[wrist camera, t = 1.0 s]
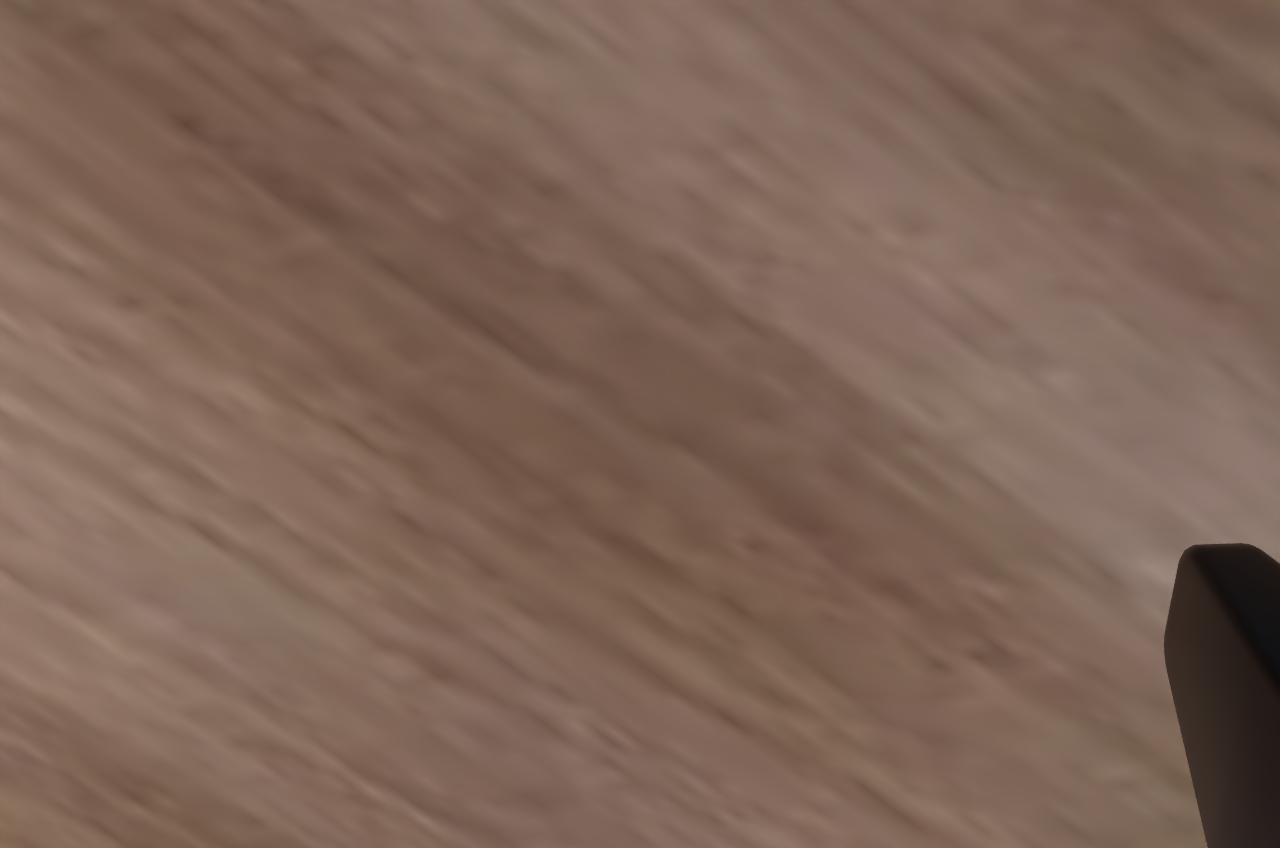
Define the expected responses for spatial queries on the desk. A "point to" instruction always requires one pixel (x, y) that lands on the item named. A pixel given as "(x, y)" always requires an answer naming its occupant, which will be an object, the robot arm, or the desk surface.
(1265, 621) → the robot arm
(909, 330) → the desk surface
